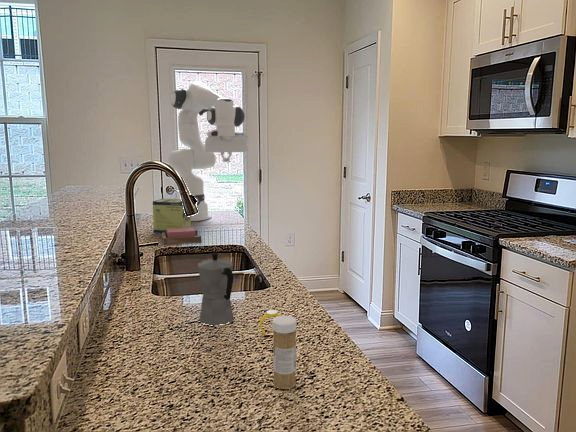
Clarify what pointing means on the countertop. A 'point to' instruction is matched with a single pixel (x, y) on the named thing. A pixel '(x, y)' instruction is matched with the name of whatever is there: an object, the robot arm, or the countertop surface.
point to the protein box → (169, 215)
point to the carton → (180, 232)
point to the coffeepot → (216, 290)
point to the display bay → (181, 239)
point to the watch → (271, 314)
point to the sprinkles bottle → (284, 351)
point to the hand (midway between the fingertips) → (226, 161)
